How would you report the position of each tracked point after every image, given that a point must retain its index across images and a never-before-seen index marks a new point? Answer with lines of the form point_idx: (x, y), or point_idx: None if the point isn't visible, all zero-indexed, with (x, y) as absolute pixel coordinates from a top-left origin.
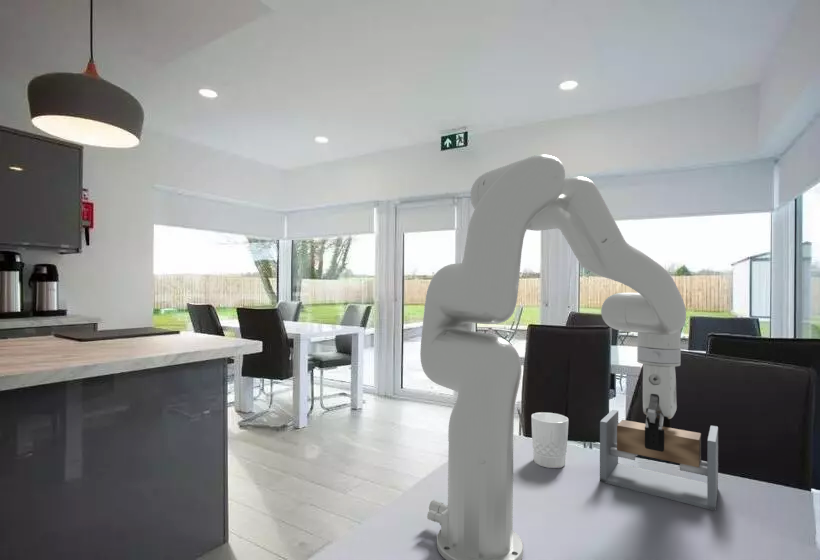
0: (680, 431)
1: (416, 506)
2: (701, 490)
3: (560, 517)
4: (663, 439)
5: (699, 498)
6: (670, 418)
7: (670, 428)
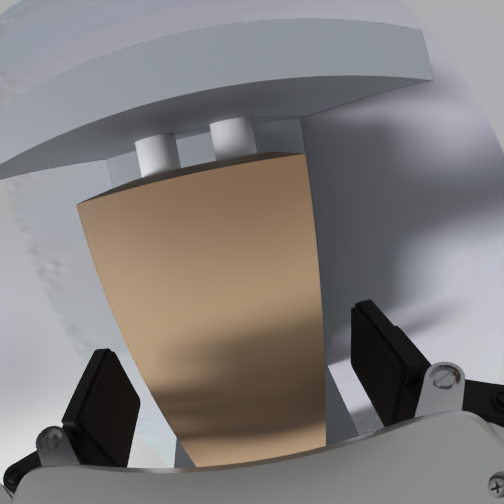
0: (168, 325)
1: None
2: (188, 159)
3: (487, 319)
4: (396, 331)
5: (264, 146)
6: (425, 415)
7: (157, 381)
